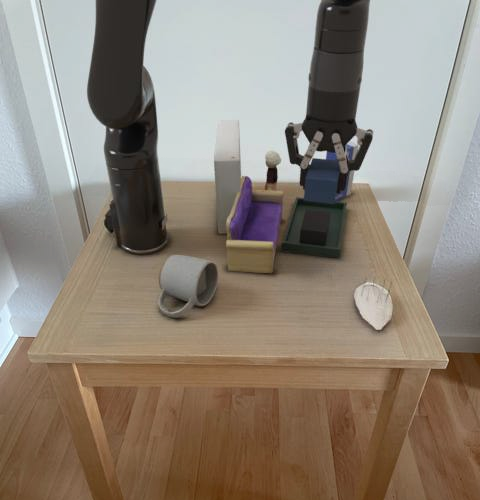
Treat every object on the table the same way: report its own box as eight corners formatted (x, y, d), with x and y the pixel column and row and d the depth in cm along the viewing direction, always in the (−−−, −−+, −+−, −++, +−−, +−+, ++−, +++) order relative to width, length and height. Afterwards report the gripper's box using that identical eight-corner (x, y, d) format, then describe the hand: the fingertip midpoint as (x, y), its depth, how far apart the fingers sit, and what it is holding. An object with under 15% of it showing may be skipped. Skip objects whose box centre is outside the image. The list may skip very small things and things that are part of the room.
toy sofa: (272, 276, 90) (274, 227, 83) (226, 272, 91) (224, 224, 84) (283, 219, 106) (285, 174, 99) (243, 216, 107) (242, 172, 100)
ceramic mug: (180, 277, 90) (176, 242, 85) (220, 289, 87) (218, 253, 82) (147, 312, 83) (141, 276, 78) (190, 326, 80) (185, 289, 75)
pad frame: (338, 258, 94) (340, 249, 93) (281, 251, 96) (281, 242, 95) (345, 210, 109) (346, 202, 107) (295, 205, 110) (296, 196, 109)
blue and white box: (330, 204, 111) (337, 152, 103) (320, 200, 112) (326, 148, 104) (351, 193, 115) (360, 142, 107) (342, 189, 116) (349, 139, 108)
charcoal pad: (324, 250, 96) (326, 232, 93) (298, 247, 97) (300, 229, 94) (328, 229, 102) (330, 212, 99) (304, 226, 102) (305, 209, 100)
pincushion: (396, 333, 79) (404, 305, 75) (358, 331, 79) (364, 304, 75) (383, 287, 88) (390, 260, 84) (349, 286, 88) (354, 260, 84)
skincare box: (218, 187, 117) (216, 119, 106) (241, 187, 117) (241, 119, 107) (215, 234, 101) (213, 159, 91) (242, 234, 101) (242, 159, 91)
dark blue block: (334, 204, 80) (337, 181, 77) (303, 200, 81) (305, 177, 78) (338, 183, 86) (342, 160, 83) (310, 179, 87) (312, 157, 84)
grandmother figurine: (261, 198, 113) (263, 144, 104) (278, 198, 113) (281, 144, 104) (261, 215, 107) (262, 159, 99) (278, 215, 107) (282, 159, 99)
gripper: (385, 78, 73) (366, 184, 84) (290, 71, 76) (284, 175, 87) (384, 93, 68) (363, 205, 79) (281, 85, 70) (275, 194, 82)
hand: (321, 189), depth 83 cm, fingers closed on dark blue block, 5 cm apart
